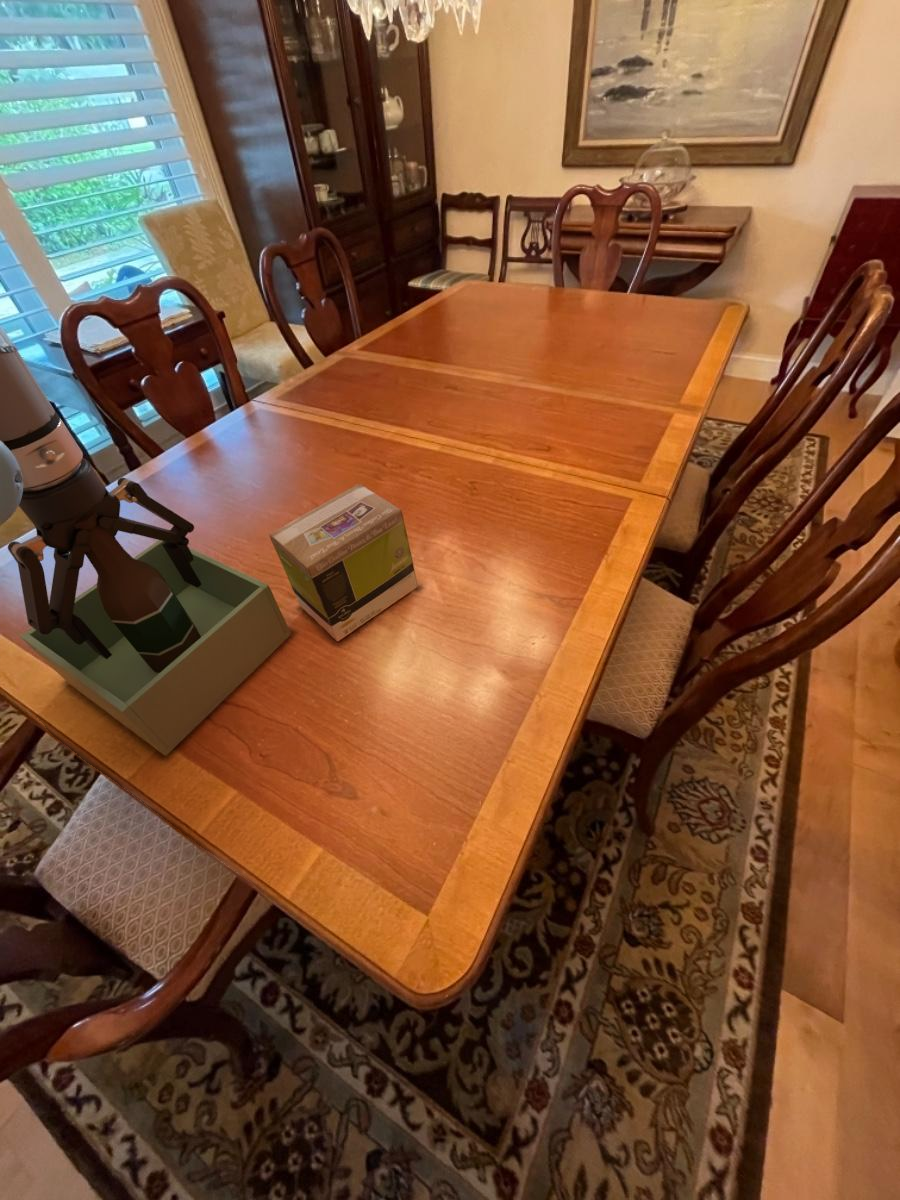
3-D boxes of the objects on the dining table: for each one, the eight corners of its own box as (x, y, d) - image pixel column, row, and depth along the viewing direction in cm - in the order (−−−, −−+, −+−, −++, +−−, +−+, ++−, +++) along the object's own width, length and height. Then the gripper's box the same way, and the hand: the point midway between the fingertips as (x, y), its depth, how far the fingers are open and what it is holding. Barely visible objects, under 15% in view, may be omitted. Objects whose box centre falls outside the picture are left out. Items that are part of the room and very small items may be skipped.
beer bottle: (174, 685, 70) (63, 546, 53) (137, 663, 73) (22, 525, 56) (219, 644, 74) (130, 503, 57) (183, 625, 77) (89, 485, 60)
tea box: (379, 558, 86) (360, 479, 75) (419, 588, 80) (405, 508, 69) (299, 608, 79) (266, 530, 69) (336, 645, 74) (307, 567, 63)
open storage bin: (165, 756, 64) (122, 711, 57) (68, 683, 73) (19, 636, 66) (291, 634, 76) (268, 584, 69) (194, 584, 85) (165, 535, 78)
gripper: (-74, 559, 44) (76, 701, 59) (173, 422, 58) (243, 566, 73) (-110, 532, 47) (41, 674, 63) (132, 408, 61) (208, 549, 76)
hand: (150, 616), depth 68 cm, fingers open, 13 cm apart
